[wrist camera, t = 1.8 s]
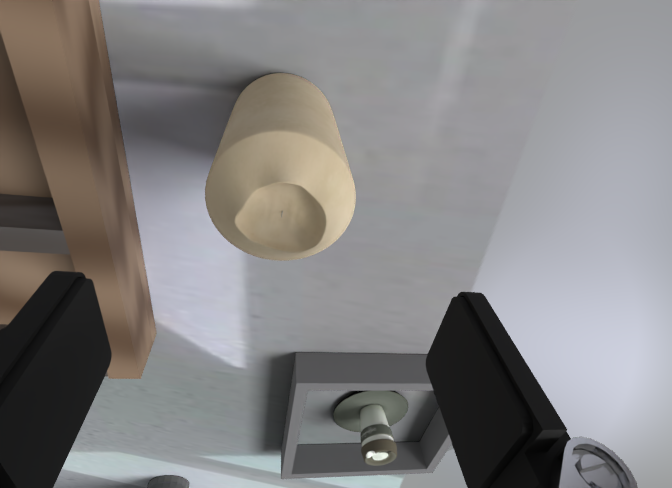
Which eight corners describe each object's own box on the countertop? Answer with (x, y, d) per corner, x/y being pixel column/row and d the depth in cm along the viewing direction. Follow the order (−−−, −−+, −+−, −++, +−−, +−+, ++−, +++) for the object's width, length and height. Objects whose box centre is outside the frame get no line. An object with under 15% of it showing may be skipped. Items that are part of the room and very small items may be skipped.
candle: (227, 160, 22) (193, 275, 14) (238, 58, 19) (202, 129, 11) (321, 178, 23) (339, 292, 15) (345, 85, 20) (383, 167, 12)
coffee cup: (379, 447, 44) (388, 495, 40) (290, 423, 39) (290, 476, 35) (453, 393, 39) (472, 442, 35) (361, 358, 34) (370, 411, 30)
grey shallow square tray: (295, 352, 33) (296, 383, 30) (477, 355, 35) (491, 383, 33) (281, 449, 42) (280, 479, 40) (424, 445, 45) (432, 472, 43)
